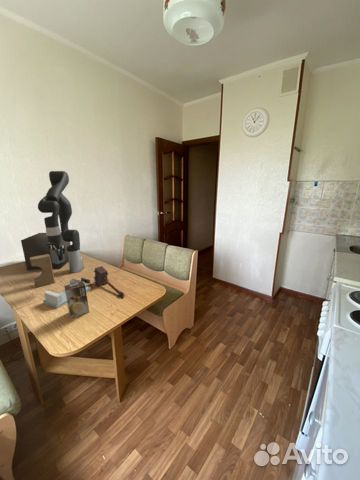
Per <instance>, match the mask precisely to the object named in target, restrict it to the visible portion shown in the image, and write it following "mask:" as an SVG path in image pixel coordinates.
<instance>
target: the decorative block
mask: <svg viewBox="0 0 360 480" xmlns="http://www.w3.org/2000/svg"><path fill="white" fill-rule="evenodd" d="M29 259H30V264H31V266H37V267H40V268H41V269H42V270H41V273H40V274H39V275H38V276H37V277H34V278H33V282H34V286H35V288H36V289H37V288H39V287H44V286H47V285H51V284H54V283H56V281H55V277H54V271H53V270H54V269H52V264H51V258H50V255H49V254H46V255H40V256H35V257H30V258H29Z"/></svg>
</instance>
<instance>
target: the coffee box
mask: <svg viewBox="0 0 360 480" xmlns="http://www.w3.org/2000/svg"><path fill="white" fill-rule="evenodd" d="M80 281H81V280H80ZM85 285H86V283H85V284H84V283H83V281H81V282H77V283H73V284H70V283H69V284H66V285H65V284H64V288H63V289H64V290H65V293H66V298H67V303H66V304H67V309H68V314H69V316H70V319H73V318H77V317H79V316H82V315H85V314H87V313H90V307H89V301H88V296H87V292H86V287H85Z"/></svg>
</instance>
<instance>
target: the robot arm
mask: <svg viewBox="0 0 360 480" xmlns="http://www.w3.org/2000/svg"><path fill="white" fill-rule="evenodd" d="M48 178H49V182H50V185H51V187H50V188H49V189H48V190H47V192H46V194H45V195H44V197H42V198H41V199H40V200H39V202H38V204H37V209H38V211H39V212H40V213H44V214H48V213H49V214H51V216H45V218H44V220H43V221H44V226H45V233H46V235H47V240H48V242H49V243H48V244H47V246H48V249H49V252H50V249H55V250H57V252H58V256H59V261H62V260H63V254H65V245H61V240H62V239H63V240H64V241H66V242H70V243H71V245H70V246H68V247H67V248H66V249H67V255H68V268H69V272H70V273H73V274H75V273H79V272H81V271H83V270H84V261H83V259H84V258H83V257H82V255H81V239H80V237H81V236H80V232H79V231H78V230H77V229H69V221H70V219H71V217H72V213H73V209H72V204H71V202H70V200H69V199H68V198H67V197H66V196H65V194H63V191H65V189H66V188H67V186H68V185H69V183H70V179H69V178H70V177H69V175H68V172H66V171H65V170H51V171H49V173H48ZM61 235H62V237H61ZM58 249H60V250H58ZM59 251H60V253H59ZM62 251H63V252H62Z"/></svg>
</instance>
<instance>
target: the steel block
mask: <svg viewBox="0 0 360 480" xmlns="http://www.w3.org/2000/svg"><path fill="white" fill-rule="evenodd" d="M58 250H60V249H58ZM62 252H63V251H62ZM50 253H51V258H52V263H55V264H59V263H62V262H65V258H64V254H63V260H62V261H59V256H58V252H57V250H55V249H50ZM59 253H60V251H59Z"/></svg>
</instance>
